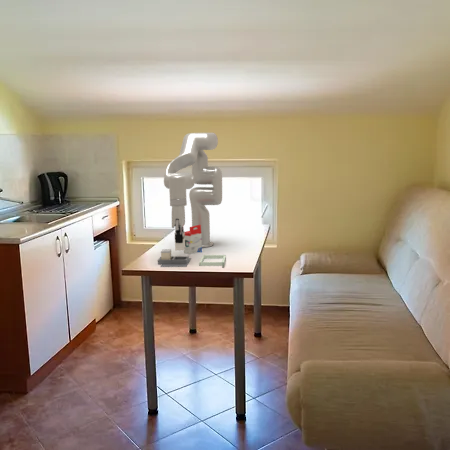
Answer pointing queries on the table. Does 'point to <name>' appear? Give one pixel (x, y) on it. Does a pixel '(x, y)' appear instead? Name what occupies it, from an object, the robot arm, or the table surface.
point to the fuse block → (172, 259)
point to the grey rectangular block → (180, 245)
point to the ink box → (193, 240)
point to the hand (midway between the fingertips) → (179, 241)
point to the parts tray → (213, 262)
